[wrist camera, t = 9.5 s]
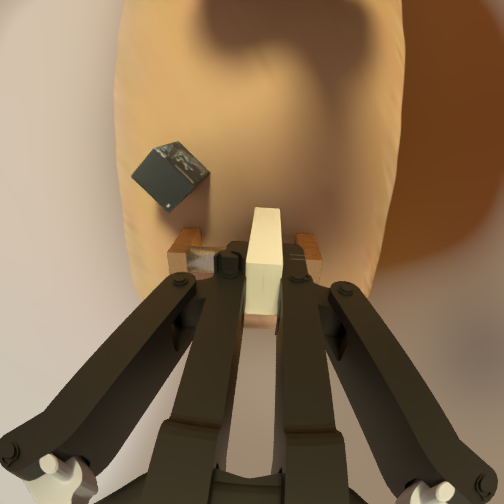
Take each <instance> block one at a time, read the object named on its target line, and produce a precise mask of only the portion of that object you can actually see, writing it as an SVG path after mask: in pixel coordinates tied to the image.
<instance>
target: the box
mask: <svg viewBox="0 0 504 504" xmlns="http://www.w3.org/2000/svg"><path fill="white" fill-rule="evenodd" d="M209 174H210V172H209V171H208V170H207V169H206V168H205V167H204V166H203V165H202V164H201V163H200V162H199V161H198V160H197V159H196V158H195V157H194V156H193V155H192V154H191V153H190V152H189V151H188V150H187V149H186V148H185V147H184V146H183V145H182V144H181V143H180V142H174V143H170V144H166V145H163V146H159V147H155V148H154V149H153V150H152V151H151V152H150V153H149V155H148V156H147V157H146V158H145V159H144V161H143V162H142V163H141V164H140V165H139V167H138V168H137V169H136V170H135V172H134V173H133V174H132V175H131V178H132V179H134V180H135V181H136V182H137V183H138V184H139V185H140V186H141V187H142V188H143V189H144V190H145V191H146V192H147V193H148V194H149V195H150V196H151V197H152V198H154V199H155V200H156V201H157V202H158V203H159V204H160V205H161V206H162V207H163V208H164V209H165V210H166V211H167V212H168V213H170V212H171V211H172V210H173V209H174V208H175V207H176V206H177V205H178V204H179V203H180V202H181V201H183V200H184V199H185V198H186V197H187V196H188V195H189V194H190V193H191V192H192V191H193V190H194V189H195V188H196V187H197V186H198V185H199V184H200V183H201V182H202V181H203V180H204V179H205V178H206V177H207V176H208V175H209Z"/></svg>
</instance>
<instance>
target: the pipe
mask: <svg viewBox="0 0 504 504" xmlns="http://www.w3.org/2000/svg"><path fill="white" fill-rule="evenodd" d="M296 244H299V245H300V246H301V247H302V248H303V249H304V254H305V260H306V264H307V270H308V274H309V275H311V276H312V278H313V282H314V283H319V278H320V273H321V267H322V261H323V260H322V257H321V254H320V251H319V248H318V245H317V242H316V239H315V236H314V234H304V233H297V237H296ZM222 250H226V248H221V247H201V232H200V229H196V228H184V229H183V231H182V232H181V233H180V235H179V236H178V237H177V239H176V240H175V242H174V243H173V244H172V246H171V247H170V249H169V250H168V251H167V257H168V264H169V271H170V274H173V273H176V272H188V273H190V272H205V273H214V258H213V256H214V255H215V254H216V253H217V252H219V251H222Z"/></svg>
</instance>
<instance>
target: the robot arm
mask: <svg viewBox="0 0 504 504" xmlns="http://www.w3.org/2000/svg"><path fill="white" fill-rule="evenodd" d="M213 258H214V275H213V277H211V278H208V279H204V280H196V279H195V276H194V275H193V274H191V273H188V272H176V273H173V274H170V275H169V276H168V277H166V278H165V279H164V280H163V281H162V282H161V283H160V284H159V285H158V286H157V287H156V288H155V289H154V290H153V291H152V293H151V294H150V295H149V296H148V297H147V298H146V299H145V300H144V301H143V302H142V303H141V304H140V305H139V306H138V307H137V308H136V309H135V310H134V311H133V312H132V313H131V314H130V315H129V317H127V318H126V319H125V321H124V322H123V323H122V324H121V325H120V326H119V327H118V328H117V329H116V330H115V331H114V332H113V333H112V334H111V335H110V336H109V338H108V339H107V340H106V341H105V342H104V343H103V344H102V345H101V346H100V347H99V348H98V350H97V351H96V352H95V353H94V354H93V355H92V356H91V357H90V358H89V359H88V361H87V362H86V363H85V364H84V365H83V366H82V367H81V368H80V370H79V371H78V372H77V373H76V374H75V375H74V376H73V377H72V379H71V380H70V381H69V382H68V383H67V384H66V386H65V387H64V388H63V389H62V390H61V391H60V392H59V394H58V395H57V396H56V397H55V398H54V400H53V401H52V402H51V403H50V404H49V406H48V407H47V408H46V409H45V411H44V412H42V413H40V414H38V415H37V416H35V417H34V418H32V419H30V420H29V421H27V422H25V423H24V424H22V425H20V426H19V427H17V428H15V429H14V430H12V431H10V432H9V433H7V434H5V435H4V436H3V437H2V438H1V439H0V463H1V465H2V466H3V467H4V468H5V469H6V470H8V471H9V472H11V473H12V474H14V475H16V476H17V477H19V478H21V479H22V480H23V481H24V482H25V484H26V486H27V488H28V490H29V492H30V494H31V495H32V497H33V499H34V501H35V502H36V504H88V503H89V500H90V499H91V497H92V496H93V495H95V494H97V492H98V486H97V481H96V476H97V475H99V474H100V473H101V472H102V471H103V470H104V469H105V468H106V467H107V466H108V465H109V464H110V462H111V461H112V460H113V458H114V457H115V456H116V455H117V453H118V452H119V450H120V449H121V447H122V446H123V444H124V443H125V441H126V440H127V438H128V437H129V435H130V434H131V432H132V431H133V429H134V428H135V426H136V425H137V423H138V422H139V420H140V418H141V417H142V416H143V414H144V413H145V411H146V410H147V408H148V406H149V405H150V403H151V402H152V401H153V399H154V398H155V396H156V395H157V393H158V392H159V390H160V389H161V387H162V386H163V384H164V383H165V381H166V379H167V378H168V377H169V375H170V373H171V372H172V371H173V369H174V368H175V366H176V365H177V363H178V362H179V360H180V359H181V357H182V355H183V354H184V353H185V351H186V350H187V348H188V347H189V345H190V344H191V342H192V341H193V342H192V344H191V348H190V351H189V354H188V358H187V361H186V364H185V368H184V372H183V375H182V378H181V381H180V385H179V388H178V392H177V395H176V399H175V402H174V406H173V409H172V413H171V416H170V418H169V419H167V420H164V422H163V423H162V424H161V427H160V430H159V432H158V436H157V439H156V443H155V447H154V451H153V454H152V458H151V461H150V465H149V469H148V472H147V473H145V474H143V475H141V476H139V477H137V478H136V479H134V480H133V481H131V482H130V483H128V484H127V485H125V486H123V487H122V488H120V489H118V490H117V491H115V492H113V493H112V494H110V495H108V496H107V497H105V498H103V499H101V500H100V501H98V502H96V503H94V504H368V503H367V502H365V501H364V500H363V499H362V498H361V497H360V496H359V495H358V494H357V493H356V492H355V491H354V490H352V489H351V488H349V487H348V475H347V463H346V453H345V443H344V438H343V436H342V433H341V432H339V431H337V430H336V426H335V420H334V411H333V402H332V394H331V386H330V379H329V372H328V365H327V358H326V352H327V354H328V356H329V358H330V361H331V362H332V365H333V367H334V369H335V371H336V373H337V375H338V378H339V380H340V382H341V384H342V386H343V388H344V391H345V393H346V395H347V397H348V399H349V402H350V404H351V406H352V408H353V410H354V413H355V415H356V417H357V419H358V422H359V424H360V426H361V428H362V431H363V433H364V435H365V437H366V440H367V442H368V444H369V446H370V449H371V451H372V453H373V456H374V458H375V460H376V463H377V465H378V467H379V470H380V472H381V474H382V476H383V478H384V480H385V482H386V484H387V486H388V487H389V488H390V490H391V492H392V493H393V494H394V496H395V497H396V498H397V500H396V502H395V504H485V503H487V502H488V501H490V500H491V498H492V497H493V496H494V494H495V492H496V489H497V484H498V479H497V475H496V473H495V471H494V470H493V469H492V468H491V467H490V466H489V465H487V464H486V463H485V462H484V461H483V460H482V459H481V458H480V457H479V456H478V455H476V454H475V453H474V452H473V451H472V450H471V449H470V448H469V447H467V446H466V445H465V444H464V443H463V442H462V441H461V440H459V438H458V436H457V434H456V432H455V431H454V429H453V427H452V425H451V424H450V422H449V420H448V418H447V417H446V415H445V413H444V412H443V410H442V408H441V407H440V405H439V404H438V402H437V400H436V399H435V397H434V395H433V394H432V392H431V391H430V389H429V388H428V386H427V384H426V383H425V381H424V380H423V378H422V377H421V375H420V374H419V372H418V370H417V369H416V367H415V366H414V365H413V363H412V361H411V360H410V358H409V357H408V356H407V354H406V353H405V351H404V350H403V348H402V347H401V345H400V344H399V342H398V341H397V339H396V338H395V337H394V335H393V334H392V332H391V331H390V330H389V328H388V327H387V325H386V324H385V323H384V321H383V320H382V318H381V317H380V316H379V314H378V313H377V312H376V310H375V309H374V308H373V306H372V305H371V304H370V302H369V301H368V300H367V298H366V297H365V296H364V294H363V293H362V292H361V290H360V289H359V288H358V287H357V286H356V285H354V284H352V283H350V282H346V281H338V282H334V283H333V284H332V285H331V288H327V287H323V286H320V285H318V284H316V283H314V282H313V278H312V276H311V275H309V274H308V270H307V264H306V260H305V254H304V249H303V248H302V247H301V246H300V245H299V244H284V243H282V237H281V221H280V209H275V208H259V207H255V212H254V218H253V224H252V230H251V235H250V241H249V242H241V241H232V242H230V243H229V244H228V245H227V247H226V250H222V251H219V252H217V253H216V254H215V255H214V256H213ZM244 312H245V313H246V314H260V315H277V313H278V315H277V323H276V331H275V335H276V390H275V423H274V449H273V463H272V469H271V475H268V476H263V477H257V478H250V479H249V478H244V477H240V476H237V475H234V474H231V473H228V472H226V456H227V447H228V440H229V433H230V425H231V417H232V410H233V402H234V395H235V387H236V379H237V372H238V364H239V357H240V349H241V341H242V334H243V326H244ZM325 350H326V351H325Z"/></svg>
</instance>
